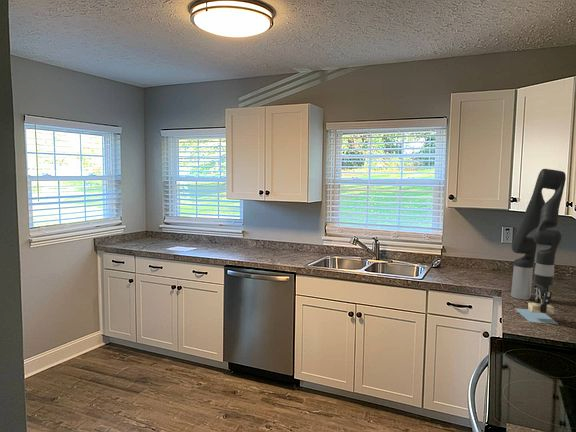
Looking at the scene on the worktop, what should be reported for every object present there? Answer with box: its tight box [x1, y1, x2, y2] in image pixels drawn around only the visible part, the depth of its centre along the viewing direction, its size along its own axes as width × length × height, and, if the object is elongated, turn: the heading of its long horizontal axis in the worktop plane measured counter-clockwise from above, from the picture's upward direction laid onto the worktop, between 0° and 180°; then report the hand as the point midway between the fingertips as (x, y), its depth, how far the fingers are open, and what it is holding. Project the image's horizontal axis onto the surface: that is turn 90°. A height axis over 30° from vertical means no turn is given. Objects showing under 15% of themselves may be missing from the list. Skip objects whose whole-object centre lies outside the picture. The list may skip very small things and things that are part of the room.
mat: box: [514, 307, 559, 325], centre depth 205 cm, size 20×12×1 cm, turn 170°
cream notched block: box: [527, 302, 555, 315], centre depth 199 cm, size 9×5×3 cm, turn 80°
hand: (540, 310), depth 199 cm, fingers closed on cream notched block, 5 cm apart
